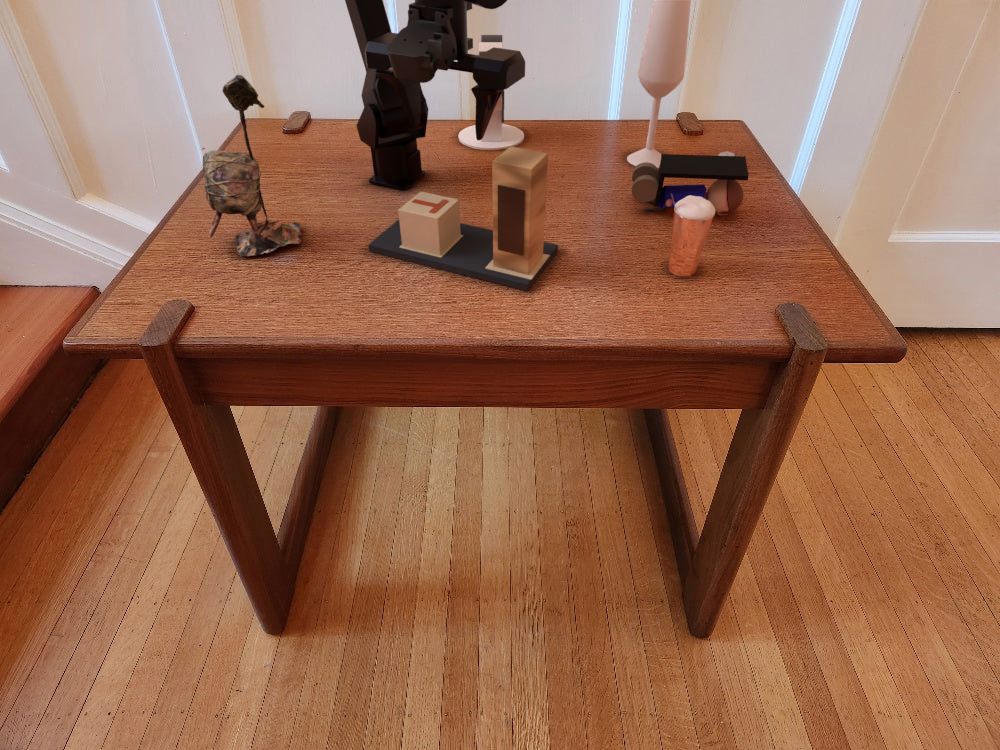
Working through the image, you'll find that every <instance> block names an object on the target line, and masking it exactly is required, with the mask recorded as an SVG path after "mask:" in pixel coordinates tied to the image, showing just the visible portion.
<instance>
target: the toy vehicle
mask: <svg viewBox="0 0 1000 750" xmlns="http://www.w3.org/2000/svg"><path fill="white" fill-rule="evenodd" d="M749 177H750V176H749V169H748V164H747V158H746V156H743V155H738V156H737V155H735V156H718V155H713V154H712V155H708V154H675V153H674V154H673V153H661V161H660V166H659V168H657V167H656V166H655V165H654V164H652V163H648V162H644V163H640V164H638V165H637V166H635V167H634V168H633V170H632V175H631V180H632V186H631V195H632V197H633V198H634V199H635V200H636V201H639V202H641V203H649V204H650V203H652V204H653V203H654V207H652V206H651V207H649V206H648V207H644V208H643V209H642V210H643V211H645V212H663V211H666V210H667V209H674V204H673V200H674V203H675V204H676V203H677V202H678V201H679V200H681V199H683V198H685V197H687V196H690V195H692V196H700V197H703V198H704V199H706V200H708V201H710V202H711V203H712V205H713V206H714V208H715V214H716V215H719V216H727V215H730V214H733V213H734V212H736V211H737V210H738V209H739V208H740V207H741V206H742V203H743V201H744V189H743V186H742V185H741V183H740V182H739V181H746V182H747V181H748V180H749ZM665 178H667V179H694V180H714V181H713V182H712V183H711V184H710V185H709V187H708V188H707V187H706V184H667V185H664V183H665ZM671 194H672V196H673V200H672V196H671Z"/></svg>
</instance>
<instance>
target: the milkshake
mask: <svg viewBox="0 0 1000 750" xmlns="http://www.w3.org/2000/svg"><path fill="white" fill-rule="evenodd" d="M671 196H672V194H671ZM672 200H673V196H672ZM673 204H674V208H673V221H672V236H671V243H670V244H671V245H670V253H669V254H670V255H669V261H668V272H670V273H672V274H673V275H675V276H679V277H691V276H693V275H694V274H695V273H696V272H697V268H698V266H699V261H700V258H701V255H702V253H703V249H704V246H705V243H706V240H707V237H708V234H709V231H710V228H711V225H712V223H713V220H714V217H715V214H716V213H715V208H714V206H713V205H712V203H711V202H710V201H708V200H706V199H704V198H703V197H700V196H692V195H690V196H687V197H685V198H683V199H681V200H679V201H678V202H677V203H676V204H675V203H674V200H673Z"/></svg>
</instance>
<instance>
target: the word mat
mask: <svg viewBox="0 0 1000 750" xmlns="http://www.w3.org/2000/svg"><path fill="white" fill-rule="evenodd" d="M460 231H461V236H460V237H459V238H458V239H457V240H456V241H455V242H454V243H452V244H451V245H450V246H449V247H448V248H447V249H446V250H445V251H444V252H443V253H442V254H441V255H437V254H433V253H429V252H424V251H420V250H416V249H412V248H408V247H404V246H402V240H401V231H400V222H399V219H398V220H396V221H395V222H394V223H393V224H391V225H390V226H389V227H388V228H387V229H385V230H384V231H383V232H382V233H380V235H378V236H377V237H376V238H374V239H373V240H372V241H371V242H370V243H368V244H367V246H368V251H369V252H370V253H374V254H379V255H381V256H386V257H390V258H394V259H399V260H402V261H406V262H410V263H414V264H417V265H422V266H426V267H429V268H433V269H438V270H442V271H446V272H450V273H454V274H458V275H461V276H466V277H469V278H474V279H478V280H482V281H486V282H490V283H494V284H497V285H501V286H505V287H510V288H514V289H518V290H522V291H526V292H528V291H529V290H530V289H531V287H532V286H533V285H534V284H535V282H536V281H537V280H538V278H539V277H540V275H542V273H543V272H544V271H545V269H546V268H547V266H548V265H549V264H550V263H551V261H552V260H553V258H554V257H555V256H556V255H557V254H558V252H559V244H556V243H552V242H547V241H544V244H543V257H542V258H541V260H540V261H539V262H538V263H537V264H536V266H535V267H534V268H533V269H532V271H531V272H530V273H529V274H528V275H527V274H523V273H519V272H515V271H511V270H507V269H503V268H499V267H495V266H493V229H490V228H485V227H481V226H476V225H471V224H467V223H462V222H460Z"/></svg>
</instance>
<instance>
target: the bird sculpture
mask: <svg viewBox="0 0 1000 750" xmlns="http://www.w3.org/2000/svg"><path fill="white" fill-rule="evenodd" d="M222 93H223V95H224V96H225V98H226V99H227V101H228V103H229V104H230V105H231V107H232V108H233V109H234V110H235V111H238V112H239V113H238V114H239V120H240V122H241V123H240V124H241V125H242V129H243V137H244V141H245V145H246V149H247V151H248V153H247V152H239V151H238V152H234V151H227V150H226V151H225V150H224V151H223V150H220V149H213V150H210V151H208V152H205V153H204V154H203V156H202V170H203V173H204V175H203V178H204V180H205V184H204V187H203V189H204V190H205V195H206V196H205V199H206V201H207V203H208V206H210V208H211V209H212V210H213V211H216V213H215V215H214V218H213V221H212V223H211V228H210V230H209V233H208V238H210V239H211V238H213V237H214V235H215V233H216V231H217V228H218V226H219V224H220V223H221V222H220V221H221V218H222V215H223V214H226V215H241V216H243V217H246V220H247V221H248V222H249V226H250V227H251V228H250V229H249V230H248V229H245V230H242V231H241V232H239V233H237V234H235V238H234V240H235V244H236V247H235V248H236V251H237V253H238V256H240V257H246V258H247V257H251V256H257V255H263V254H264V253H265V254H268V253H271V252H273V251H275V250H277V249H278V248H279V247H285V246H287V245H289V244H290V245H291V244H297V245H299V244H300V243H301V242H302V241H303V239H302V238H303V236H302V234H303V232H304V230H302V228H301V225H302V224H301V223H300V222H296V221H293V222H289V223H287V224H286V223H282V222H280V220H279V219H278V217H275V216H274V217H269V218H268V215H267V210H266V207H265V204H264V199H263V196H262V192H261V176H262V172H261V170H260V164H259V163H258V161H257V159H256V158H255V157H254V156H253V152H252V147H251V143H250V140H249V135H248V131H247V128H248V127H247V123H246V116H245V111H247V110H248V109H249V108H250V107H254V105H258V107H259V108H261V109H264V108H265V104H263V103H262V102H261V100H259V98H258V97H259V94H258V92H257V91H256V89H255V87H254V86H252V84H251V83H250V82H249V81H248V80H247V78H245V76H244V75H242V74H236V75H235V76H234V77H232V78H231V79H230V80H228V81H227V82H226V83H225V84H224V85H223V86H222ZM205 149H206V148H205V147H202V148H201V150H205ZM261 210H262V211H263V213H264V216H265V219H263V220H260V221H258V217H257V214H258V213H259V212H260V211H261Z"/></svg>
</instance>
